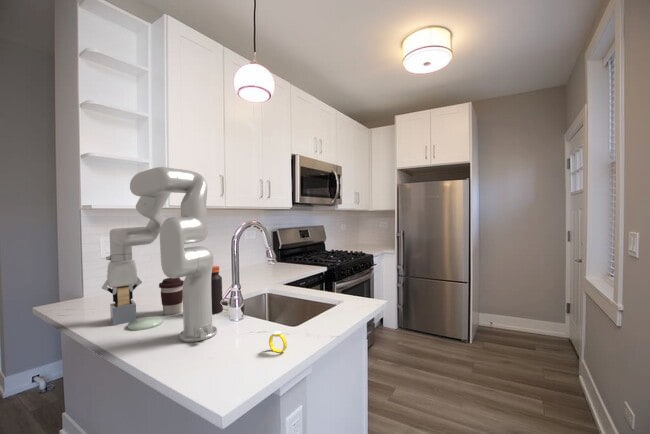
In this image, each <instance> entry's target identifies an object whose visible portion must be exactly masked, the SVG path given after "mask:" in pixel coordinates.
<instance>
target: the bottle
mask: <svg viewBox="0 0 650 434" xmlns="http://www.w3.org/2000/svg"><path fill="white" fill-rule="evenodd" d="M219 273H220V266H219V265H213V268H212V275H211V298H212V315H216V314H221V313H222V312H223V308H224V307H223V306H222V305H221V304H220V301H221V300H223V278H222V276H221V275H220V274H219Z"/></svg>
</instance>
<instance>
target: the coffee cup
mask: <svg viewBox="0 0 650 434" xmlns="http://www.w3.org/2000/svg"><path fill="white" fill-rule="evenodd" d="M183 283H184V279H181V277H180V278H169V277H167V278H163V280H162V282H159V283H158V287H159V288H160V299H161V300H160V301H161V305H162V313H163V314H164V315H167V316H171V315H177V314H179V313H181V312H182V311H183V294H182V293H183V291H182V289H183Z"/></svg>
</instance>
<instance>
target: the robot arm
mask: <svg viewBox="0 0 650 434" xmlns="http://www.w3.org/2000/svg"><path fill="white" fill-rule="evenodd" d="M129 189H130V192H131V194H132V195H134V196H136V197H139V199H138V200H137V202H136V204H135V209H136V211H137V212H138V213H139V215H141V216H143V217H145V218H147V219H149V220H148V223H147V224H146V226H132V227H121V228H120V227H119V228H117V227H116V228H111V229H110V230H109V255H108V256H105V260H106V261H109V262H108V263H107V271H106V272H107V273H106V281H105V282H104V283H103V284H102V286H101V290H102V289H103V290H104V291H107V292H108V293H111V294H112V302H113V303H115V304H118V297H117V292H116V291H117V287H120V286H127V285H128V286H129V301H130V302H131V300H133V299H134V298H133V297H134V295H133V293H134V290H135V289H136V288H138V286H140V285H141V284H142V279H140V278H139V277H138V273H137V272H138V271H137V270H138V269H137V265H136V264H137V263H136V261H135V260H134V259H133V247H137V246H146V245H151V244H152V243H153V242H155V240H156V239H157V238H158V236H159V248H160V250H159V251H160V265H161V270H162V272H163V274H164V275H165V276H166V277H167V278H180V279H181V278H184V279H183V281H184V283H183V287H182V291H183V293H182V294H183V300H182V316H183V317H182V319H183V330H182V331H181V332H179V334H178V339H179V340H180V341H183V342H187V343H188V342H189V343H191V342H192V343H193V342H200V341H204V340H207V339H211V338H212V337H214V336H215V335H217V333H218V328H217V327H216V326H215V325H213V314H212V298H211V275H212V268H213V266H214V254H213V252H212V251H211V249H209V248H208V247H206V246H204V245H203V246H202V245H199V246H190V247H189V246H188V247H185V245H188V244H195V243H200V242H203V241H205V240H206V239H207V236H208V213H207V212H208V211H207V210H208V209H207V200H208V183H207V180H206V178H205V177H204V176H203V175H202V174H201V173H199V172H195V171H193V170H188V169H182V168H175V167H174V168H173V167H166V166H165V167H164V166H157V167H153V168H150V169H145V170H144V171H143V170H142V171H140V172H137V173H136V174H134V175H133V176H132V178H131V179H130V183H129ZM172 193H174V194H175V193H178V194H184V196H183V197H182V200H181V202H180V216H171V217H170V216H169V217H168V218H166V219H165V220H164V221H163V222H162V217H161V215H160V214H161V211H162V210H163V208H164V206H165V204H166V202H167V200H168V199H169V197H170V195H171V194H172Z"/></svg>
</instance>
